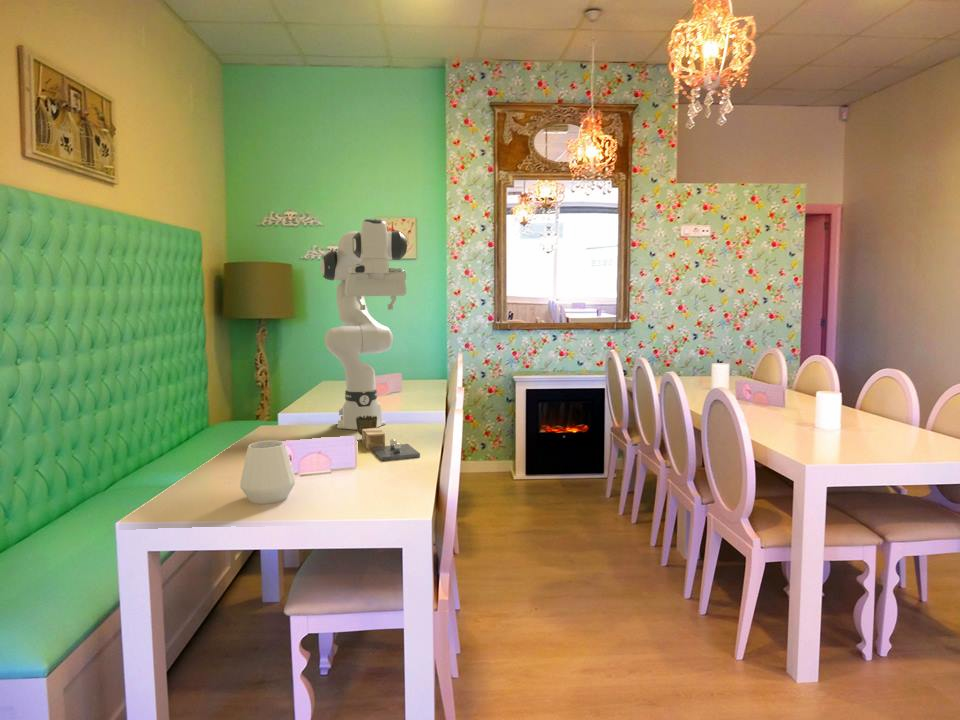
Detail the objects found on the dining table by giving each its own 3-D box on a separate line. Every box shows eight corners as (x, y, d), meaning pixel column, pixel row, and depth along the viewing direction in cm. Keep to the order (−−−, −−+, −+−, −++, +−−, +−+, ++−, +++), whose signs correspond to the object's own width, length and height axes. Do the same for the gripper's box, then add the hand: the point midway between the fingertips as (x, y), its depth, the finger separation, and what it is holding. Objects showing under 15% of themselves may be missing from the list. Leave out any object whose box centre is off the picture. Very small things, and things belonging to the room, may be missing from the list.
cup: (375, 441, 225) (375, 419, 224) (354, 442, 225) (353, 419, 225) (379, 437, 233) (378, 415, 232) (358, 437, 233) (358, 415, 232)
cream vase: (231, 498, 165) (228, 444, 164) (278, 486, 175) (276, 435, 173) (257, 510, 156) (254, 453, 155) (306, 496, 166) (304, 443, 164)
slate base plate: (372, 450, 213) (371, 438, 212) (407, 447, 217) (407, 435, 217) (382, 461, 200) (382, 448, 199) (420, 457, 204) (419, 444, 204)
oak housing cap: (362, 443, 223) (361, 428, 223) (378, 441, 226) (377, 427, 225) (368, 449, 214) (368, 434, 214) (385, 448, 216) (384, 433, 216)
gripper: (403, 268, 223) (404, 309, 225) (343, 268, 216) (344, 310, 217) (408, 268, 217) (409, 309, 219) (347, 267, 210) (348, 310, 211)
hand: (376, 309), depth 218 cm, fingers open, 8 cm apart
